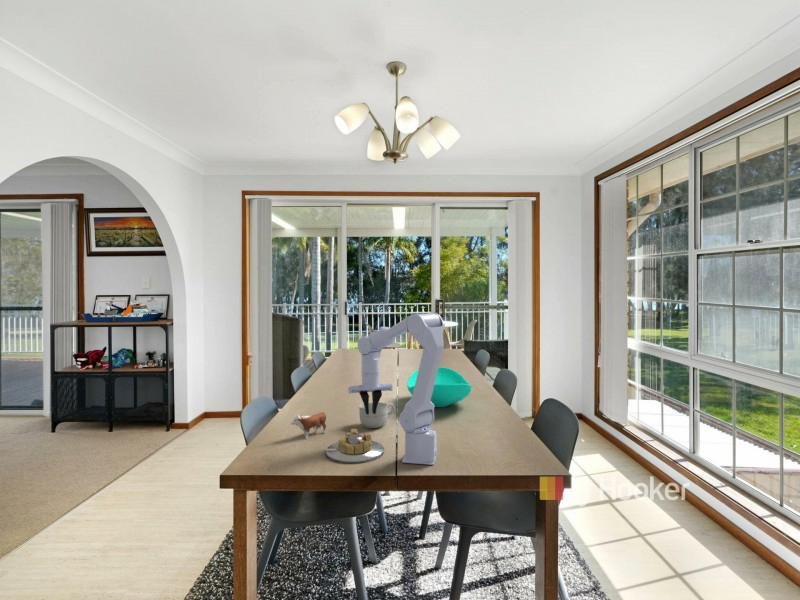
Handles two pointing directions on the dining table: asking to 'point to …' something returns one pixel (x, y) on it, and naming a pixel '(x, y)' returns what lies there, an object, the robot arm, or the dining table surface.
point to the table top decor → (445, 387)
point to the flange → (342, 457)
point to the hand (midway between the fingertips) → (370, 413)
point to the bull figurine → (310, 422)
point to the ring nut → (358, 448)
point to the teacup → (375, 415)
